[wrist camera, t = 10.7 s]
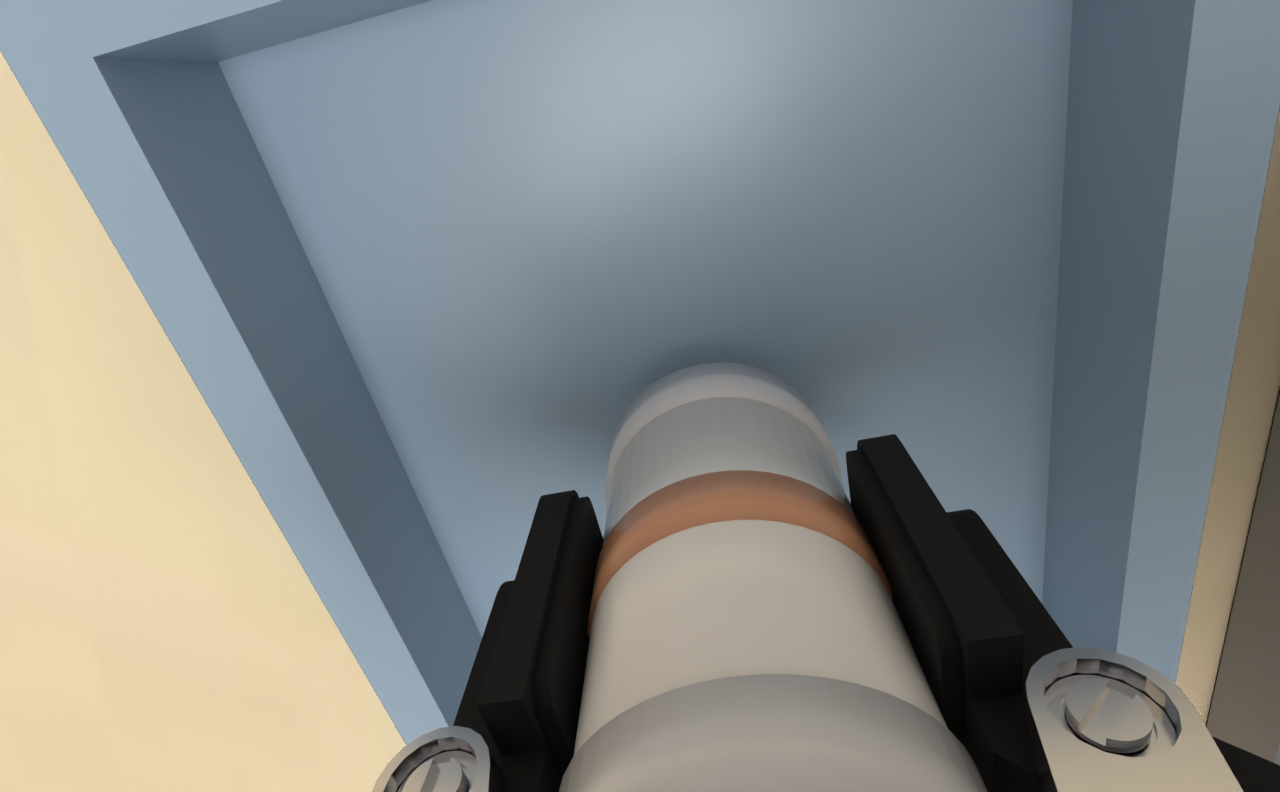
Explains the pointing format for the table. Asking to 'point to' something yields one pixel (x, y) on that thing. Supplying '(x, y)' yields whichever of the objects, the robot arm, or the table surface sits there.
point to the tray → (681, 263)
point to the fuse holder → (1255, 630)
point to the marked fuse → (746, 611)
